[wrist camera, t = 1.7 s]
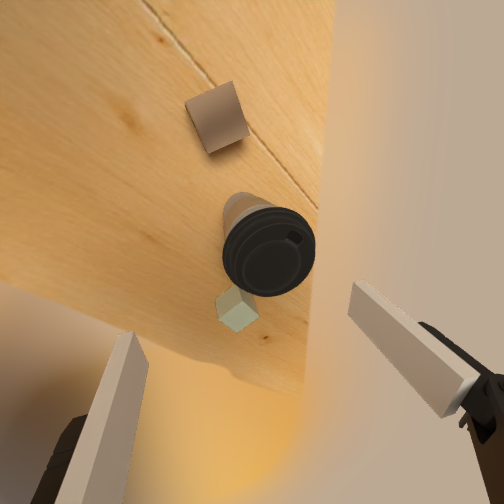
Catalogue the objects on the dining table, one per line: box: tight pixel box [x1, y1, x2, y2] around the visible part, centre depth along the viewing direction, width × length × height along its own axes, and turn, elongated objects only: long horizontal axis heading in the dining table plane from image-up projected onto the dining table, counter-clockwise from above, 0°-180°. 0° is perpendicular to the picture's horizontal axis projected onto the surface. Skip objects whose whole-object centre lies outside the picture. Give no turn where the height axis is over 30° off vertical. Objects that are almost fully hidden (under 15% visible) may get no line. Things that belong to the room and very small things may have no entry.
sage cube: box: [215, 284, 260, 333], centre depth 39 cm, size 5×5×5 cm
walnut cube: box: [185, 81, 250, 154], centre depth 25 cm, size 5×5×5 cm
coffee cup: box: [222, 192, 315, 297], centre depth 27 cm, size 9×9×15 cm
